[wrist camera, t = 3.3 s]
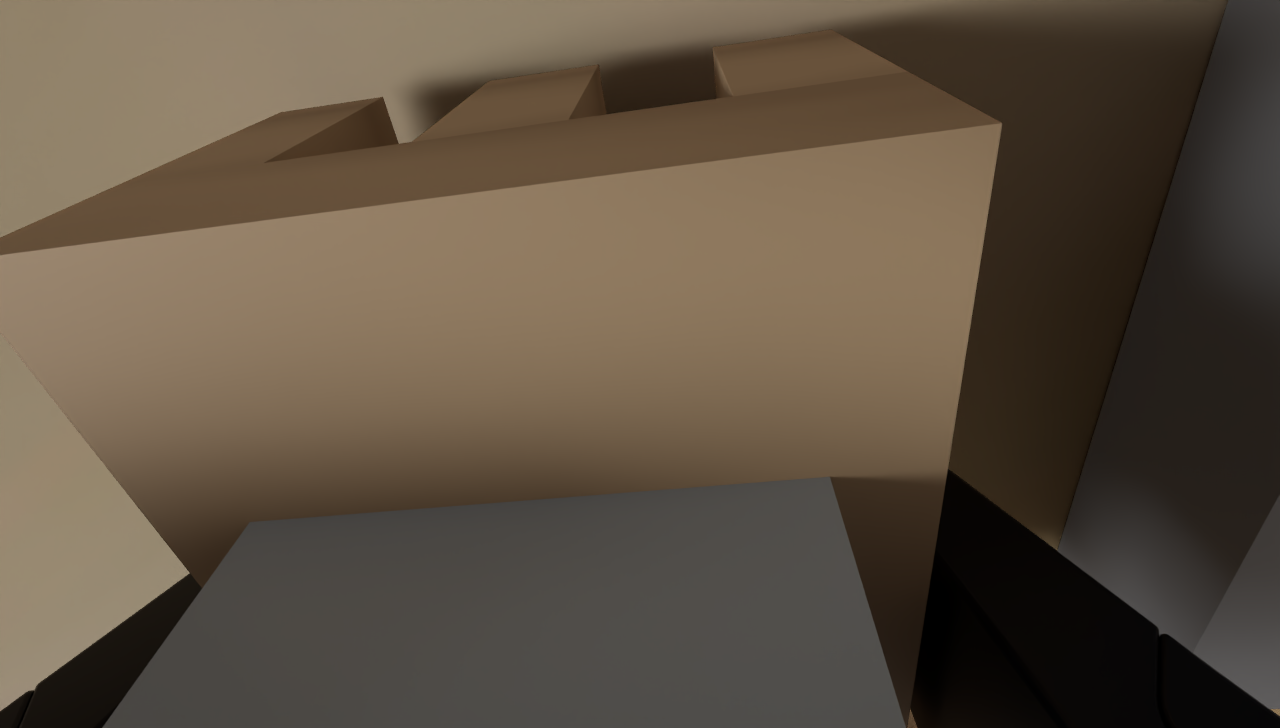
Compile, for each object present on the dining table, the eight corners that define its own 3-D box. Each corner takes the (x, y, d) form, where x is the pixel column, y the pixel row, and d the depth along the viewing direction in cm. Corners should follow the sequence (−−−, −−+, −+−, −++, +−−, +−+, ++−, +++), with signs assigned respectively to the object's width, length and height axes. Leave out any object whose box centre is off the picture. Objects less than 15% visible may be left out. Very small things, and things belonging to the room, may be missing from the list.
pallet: (821, 594, 11) (885, 866, 8) (493, 614, 12) (426, 873, 9) (831, 30, 7) (1002, 124, 3) (281, 112, 7) (-55, 261, 4)
